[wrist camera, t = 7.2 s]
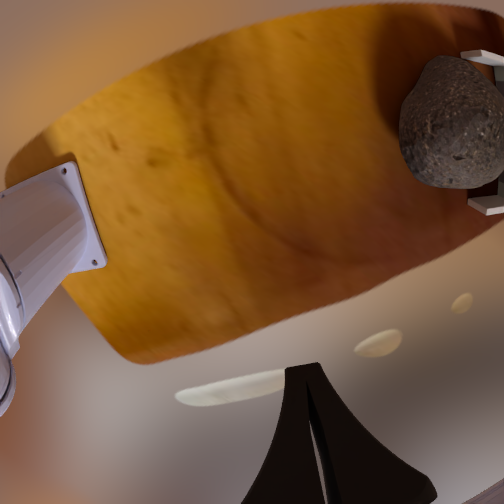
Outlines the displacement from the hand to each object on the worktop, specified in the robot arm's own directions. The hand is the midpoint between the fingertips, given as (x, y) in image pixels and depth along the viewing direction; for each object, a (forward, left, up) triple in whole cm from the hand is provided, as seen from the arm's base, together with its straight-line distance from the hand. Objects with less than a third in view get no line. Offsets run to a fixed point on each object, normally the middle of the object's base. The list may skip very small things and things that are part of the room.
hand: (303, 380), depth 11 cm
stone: (+13, +8, -11) cm, 19 cm away
